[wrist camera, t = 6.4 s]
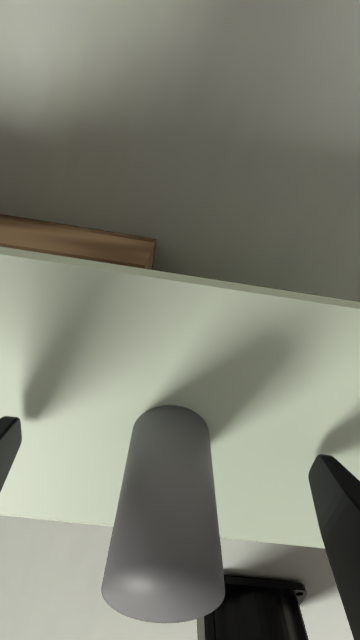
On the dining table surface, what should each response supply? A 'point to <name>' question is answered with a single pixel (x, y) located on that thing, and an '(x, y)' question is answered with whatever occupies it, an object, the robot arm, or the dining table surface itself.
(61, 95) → the dining table surface
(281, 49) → the dining table surface
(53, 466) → the lid
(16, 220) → the box
